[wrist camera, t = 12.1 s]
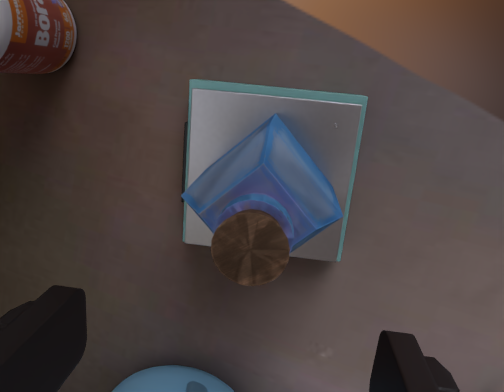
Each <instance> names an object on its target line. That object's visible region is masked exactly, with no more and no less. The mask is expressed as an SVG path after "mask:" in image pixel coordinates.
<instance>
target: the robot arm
mask: <svg viewBox="0 0 504 392" xmlns="http://www.w3.org/2000/svg"><path fill="white" fill-rule="evenodd" d="M86 342H87V326H86V297H85V292H84V290H83V289H80V288H72V287H65V286H57V285H54V286H52V287H50V288H49V289H48V290H47V291H46V292H45V293H43V294H42V295H41V296H40V297H39V298H38V299H37V300H35V301H29V302H27V303H25V304H22V305H20V306H18V307H16V308H14V309H12V310H10V311H9V312H7V313H6V314H5V315H4V316H3V317H1V318H0V392H57V391H58V389H59V388H60V387H61V385H62V384H63V383H64V381H65V380H66V379H67V377H68V376H69V375H70V373H71V372H72V371H73V369H74V368H75V367H76V365H77V364H78V363H79V361H80V360H81V358H82V356H83V353H84V350H85V347H86ZM459 391H460V390H459V389H458V387H457V385H456V383H455V381H454V379H453V377H452V375H451V373H450V372H449V371H448V370H446V369H445V368H444V367H443V366H442V365H441V364H440V363H439V362H438V361H437V360H436V359H435V358H433V357H426V356H424V355H423V353H422V351H421V349H420V347H419V345H418V343H417V340H416V338H415V336H414V335H413V334H407V333H400V332H392V331H385V330H383V331H382V332H381V334H380V336H379V341H378V345H377V350H376V355H375V359H374V364H373V369H372V373H371V378H370V387H369V392H459Z"/></svg>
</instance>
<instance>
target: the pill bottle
mask: <svg viewBox="0 0 504 392" xmlns="http://www.w3.org/2000/svg"><path fill="white" fill-rule="evenodd" d="M76 38H77V31H76V24H75V21H74V18H73V15H72V13H71V11H70V9H69V7H68V6H67V4H66V3H65V2H64V1H63V0H0V73H23V74H45V73H50V72H54V71H56V70H58V69H60V68H61V67H62V66H64V65H65V64H66V63H67V61H68V60H69V59H70V57H71V55H72V53H73V51H74V48H75V45H76Z"/></svg>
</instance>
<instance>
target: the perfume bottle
mask: <svg viewBox="0 0 504 392" xmlns="http://www.w3.org/2000/svg"><path fill="white" fill-rule="evenodd" d="M181 197H182V198H183V199H184V200H185V201H186V202H187V204H188V205H189V206H190V207H191V208H192V209H193V211H194V212H195V213H196V214H197V215H198V216H199V218H200V219H201V220H202V221H203V222H204V223H205V225H206V226H207V227H208V228H209V229H210V230H211V231H212V233H213V237H212V241H211V254H212V258H213V261H214V263H215V265H216V266H217V268H218V269H219V271H220V272H221V273H222V274H223V275H224V276H226V277H227V278H228V279H229V280H231V281H234V282H236V283H238V284H241V285H248V286H256V285H263V284H266V283H268V282H270V281H272V280H274V279H276V278H277V277H278V276H279V275H280V274H281V273H282V272H283V271H284V269H285V267H286V265H287V263H288V260H289V254H290V253H291V252H293V251H294V250H296V249H297V248H299V247H300V246H302V245H303V244H304V243H306V242H307V241H309V240H310V239H312V238H313V237H315V236H316V235H317V234H319V233H320V232H322V231H323V230H325V229H326V228H328V227H329V226H330V225H332V224H333V223H335V222H336V221H338V220H339V219H341V218H342V217H343V214H342V211H341V208H340V205H339V202H338V200H337V197H336V194H335V191H334V189H333V186H332V185H331V184H330V182H329V181H328V180H327V178H326V177H325V176H324V175H323V173H322V172H321V171H320V169H319V168H318V167H317V166H316V164H315V163H314V162H313V160H312V159H311V158H310V157H309V155H308V154H307V153H306V151H305V150H304V149H303V148H302V146H301V145H300V144H299V143H298V141H297V140H296V139H295V137H294V136H293V135H292V134H291V132H290V131H289V130H288V128H287V127H286V126H285V125H284V123H283V122H282V121H281V119H280V118H279V117H278V116H277V114H276V113H275V114H274V115H273V116H271V117H270V118H269V119H268V120H266V121H265V122H264V123H263V124H262V125H260V126H259V127H258V128H257V129H255V130H254V131H253V132H252V133H250V134H249V135H248V136H247V137H245V138H244V139H243V140H242V141H241V142H239V143H238V144H237V145H236V146H234V147H233V148H232V149H231V150H229V151H228V152H227V153H226V154H224V155H223V156H222V157H221V158H220V159H218V160H217V161H216V162H215V163H213V164H212V165H211V166H210V167H208V168H207V169H206V170H205V171H204V172H203V173H202V174H201V175H200V176H199V177H198V178H197V179H196V180H195V181H194V182H193V183H192V184H191V185H190V186H189V188H188V189H187V190H186V191H185V192H184V193H183V194H182V195H181Z"/></svg>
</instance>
